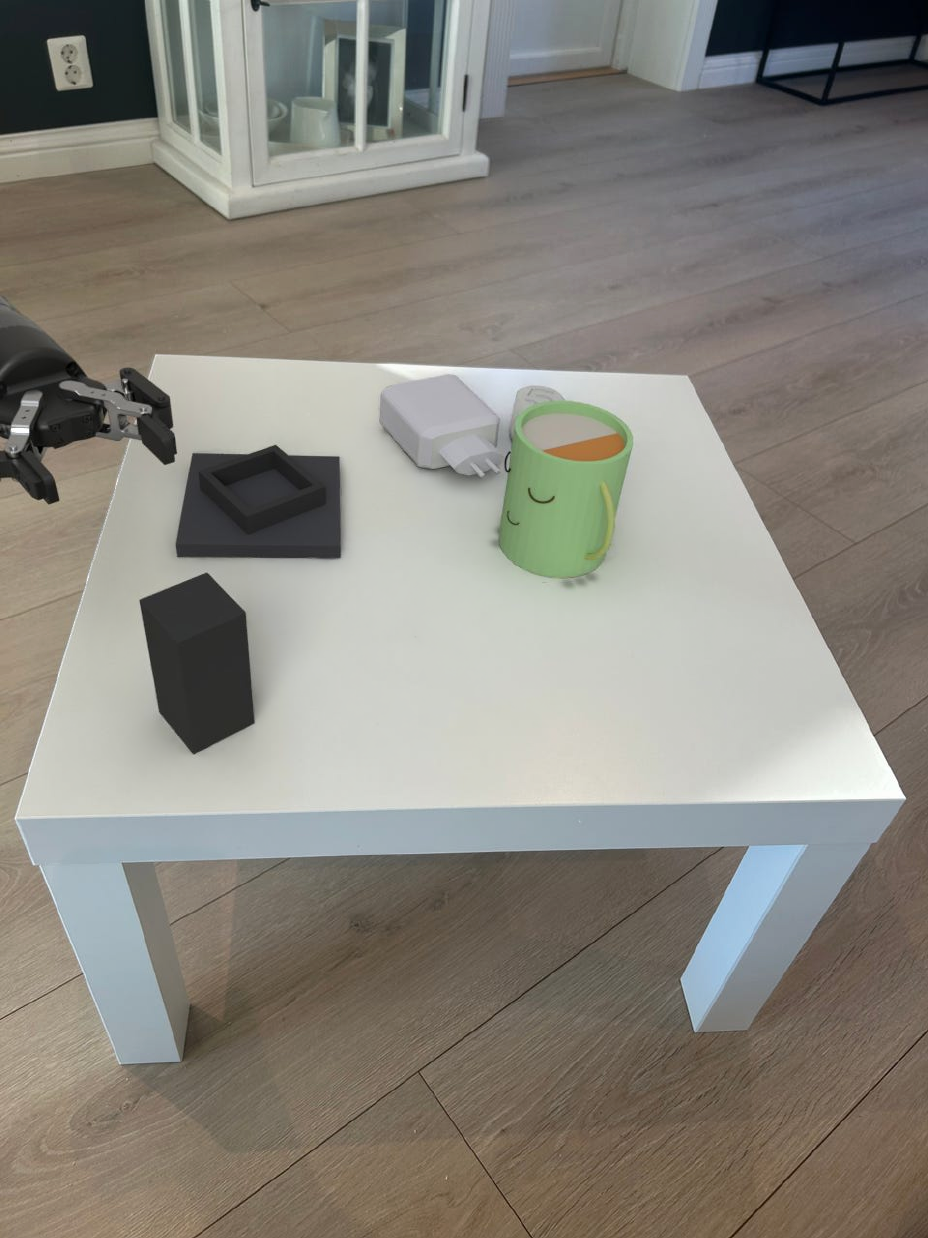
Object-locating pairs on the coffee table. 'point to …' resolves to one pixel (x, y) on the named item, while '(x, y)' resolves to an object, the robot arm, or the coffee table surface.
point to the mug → (563, 487)
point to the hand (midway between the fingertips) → (112, 472)
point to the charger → (442, 424)
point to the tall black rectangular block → (199, 660)
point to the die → (531, 401)
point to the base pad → (261, 506)
